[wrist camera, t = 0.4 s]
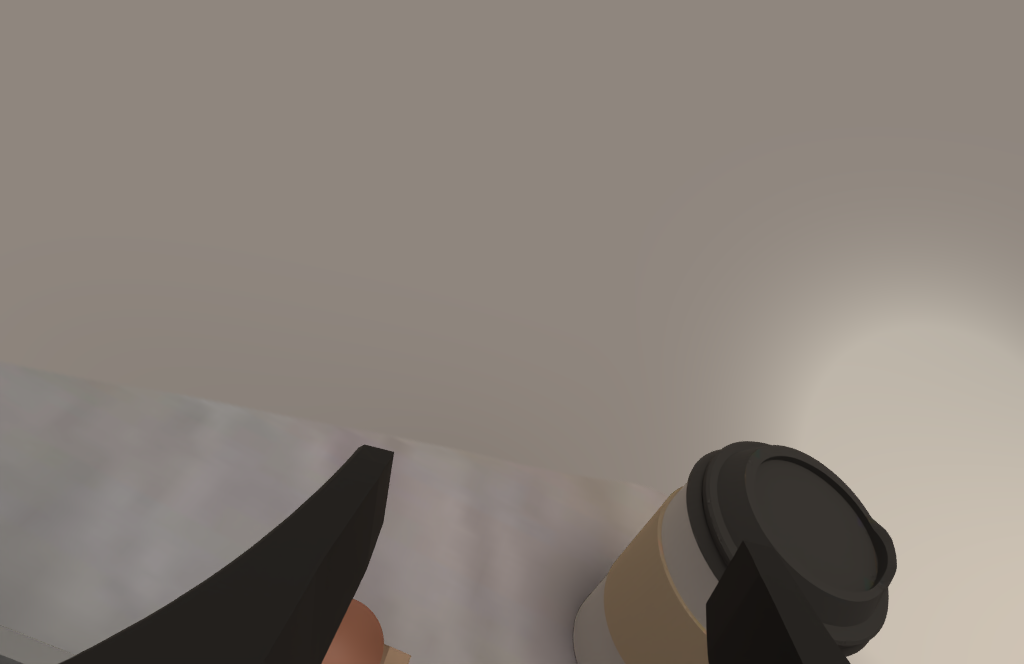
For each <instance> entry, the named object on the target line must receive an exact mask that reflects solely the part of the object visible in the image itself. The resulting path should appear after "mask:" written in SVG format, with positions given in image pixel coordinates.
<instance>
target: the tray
mask: <svg viewBox="0 0 1024 664" xmlns="http://www.w3.org/2000/svg"><path fill="white" fill-rule="evenodd" d="M73 656H75V655H73V654H71V653H68V652H66V651H64V650H61V649H59V648H56V647H54V646H51V645H49V644H46V643H44V642H41V641H39V640H36V639H34V638H31V637H29V636H26V635H24V634H22V633H19V632H17V631H14V630H12V629H9V628H7V627H4V626H2V625H0V664H59V663H61V662H63V661H65V660H67V659H69V658H71V657H73Z"/></svg>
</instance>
